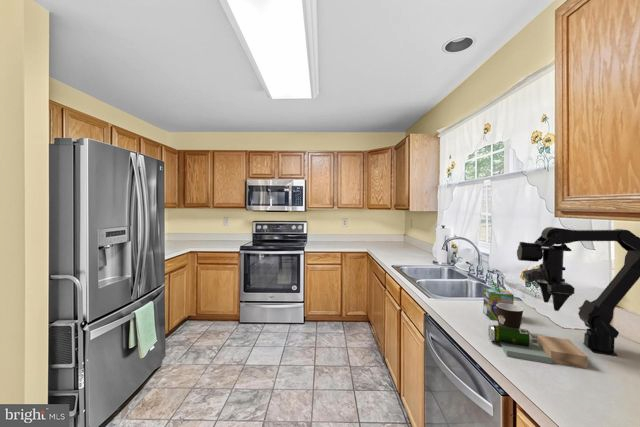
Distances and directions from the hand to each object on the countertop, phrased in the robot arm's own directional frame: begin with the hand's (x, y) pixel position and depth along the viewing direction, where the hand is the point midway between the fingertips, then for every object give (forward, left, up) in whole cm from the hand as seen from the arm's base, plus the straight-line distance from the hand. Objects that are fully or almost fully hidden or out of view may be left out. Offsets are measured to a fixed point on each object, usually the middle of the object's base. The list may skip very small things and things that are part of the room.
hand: (550, 306), depth 103 cm
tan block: (0, +10, -13) cm, 16 cm away
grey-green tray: (+11, +10, -13) cm, 20 cm away
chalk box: (+12, -21, -13) cm, 28 cm away
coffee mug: (+12, -5, -13) cm, 19 cm away
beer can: (+8, +7, -10) cm, 14 cm away
